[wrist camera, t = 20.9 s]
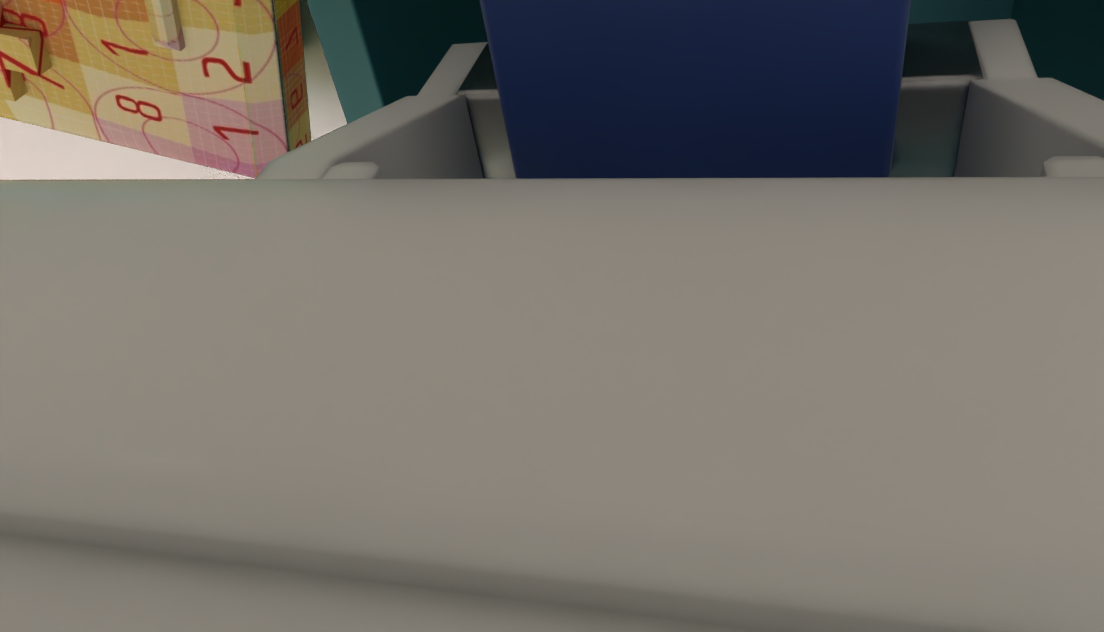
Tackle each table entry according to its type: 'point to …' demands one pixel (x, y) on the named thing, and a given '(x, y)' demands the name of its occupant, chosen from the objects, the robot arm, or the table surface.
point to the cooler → (456, 18)
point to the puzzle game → (161, 75)
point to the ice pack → (698, 86)
